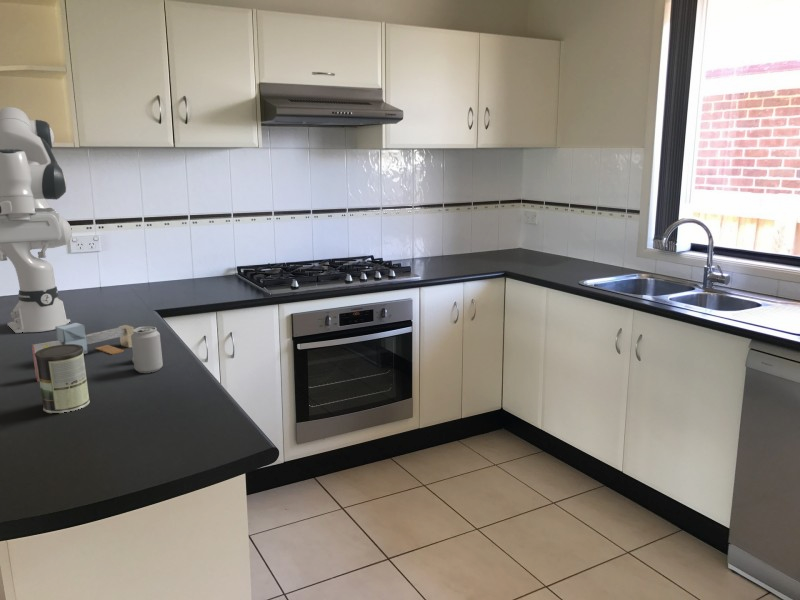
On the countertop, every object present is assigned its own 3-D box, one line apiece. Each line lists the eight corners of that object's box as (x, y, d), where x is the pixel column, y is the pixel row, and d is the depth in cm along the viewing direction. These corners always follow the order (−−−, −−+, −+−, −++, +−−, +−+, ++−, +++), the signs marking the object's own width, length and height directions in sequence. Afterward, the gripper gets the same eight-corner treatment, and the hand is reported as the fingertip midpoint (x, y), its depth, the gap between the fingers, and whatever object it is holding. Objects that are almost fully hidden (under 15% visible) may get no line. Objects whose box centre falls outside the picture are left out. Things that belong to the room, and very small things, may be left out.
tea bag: (36, 378, 181) (31, 343, 179) (63, 373, 185) (58, 339, 183) (37, 382, 178) (32, 346, 176) (65, 377, 182) (60, 342, 180)
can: (134, 367, 189) (129, 327, 186) (162, 364, 191) (158, 324, 189) (135, 375, 182) (130, 333, 179) (164, 371, 185) (159, 330, 182)
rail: (44, 361, 196) (41, 341, 195) (123, 342, 215) (121, 323, 214) (59, 367, 190) (57, 346, 189) (140, 347, 209) (138, 328, 207)
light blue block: (59, 354, 197) (55, 326, 195) (79, 349, 202) (75, 322, 200) (67, 357, 194) (63, 329, 192) (87, 352, 198) (84, 325, 196)
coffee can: (34, 414, 156) (25, 356, 153) (57, 398, 166) (49, 344, 163) (77, 413, 156) (69, 356, 152) (97, 397, 166) (91, 343, 162)
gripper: (54, 208, 190) (60, 257, 191) (-29, 210, 176) (-22, 262, 177) (61, 206, 185) (67, 256, 186) (-25, 208, 171) (-17, 261, 172)
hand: (23, 259), depth 181 cm, fingers open, 8 cm apart
